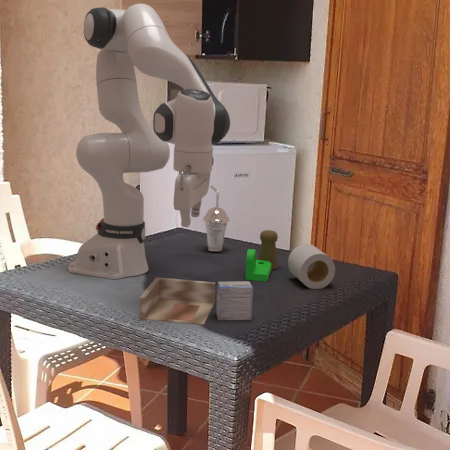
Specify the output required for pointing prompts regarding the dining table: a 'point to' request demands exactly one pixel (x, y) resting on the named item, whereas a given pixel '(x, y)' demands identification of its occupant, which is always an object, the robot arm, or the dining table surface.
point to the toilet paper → (318, 273)
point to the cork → (268, 247)
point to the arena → (178, 301)
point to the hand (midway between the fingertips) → (190, 221)
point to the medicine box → (234, 300)
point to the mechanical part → (256, 267)
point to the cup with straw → (215, 226)
